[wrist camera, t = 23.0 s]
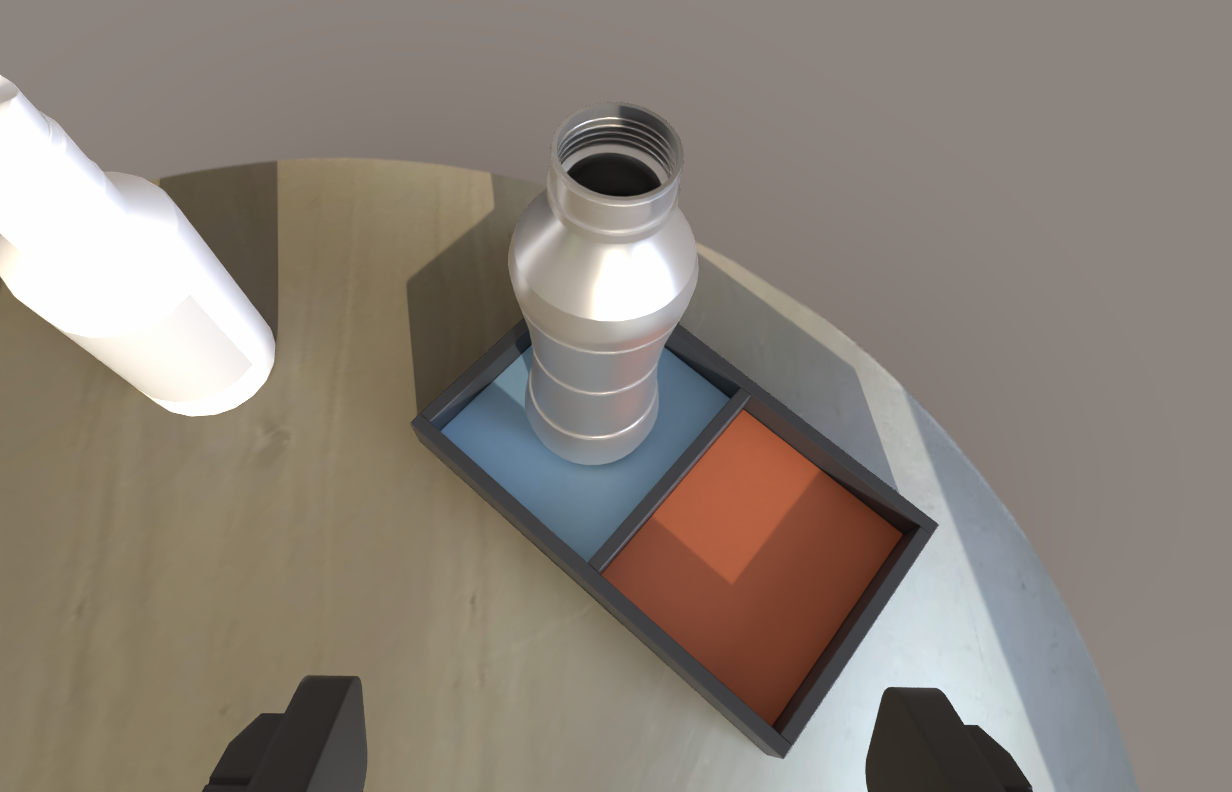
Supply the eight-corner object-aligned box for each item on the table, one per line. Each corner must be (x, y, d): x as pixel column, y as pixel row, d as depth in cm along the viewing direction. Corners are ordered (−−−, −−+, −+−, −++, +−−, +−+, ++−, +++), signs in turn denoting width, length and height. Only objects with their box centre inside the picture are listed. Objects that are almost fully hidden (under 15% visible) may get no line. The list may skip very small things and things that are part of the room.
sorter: (915, 536, 37) (939, 524, 35) (767, 755, 33) (784, 759, 30) (588, 281, 42) (591, 255, 40) (418, 440, 37) (409, 422, 35)
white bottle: (116, 366, 38) (-224, 106, 21) (221, 284, 40) (-12, -7, 24) (202, 444, 36) (-91, 230, 20) (305, 354, 39) (119, 97, 22)
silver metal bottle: (649, 482, 37) (741, 259, 18) (518, 470, 36) (479, 233, 18) (654, 370, 39) (739, 77, 21) (532, 359, 39) (510, 52, 21)
